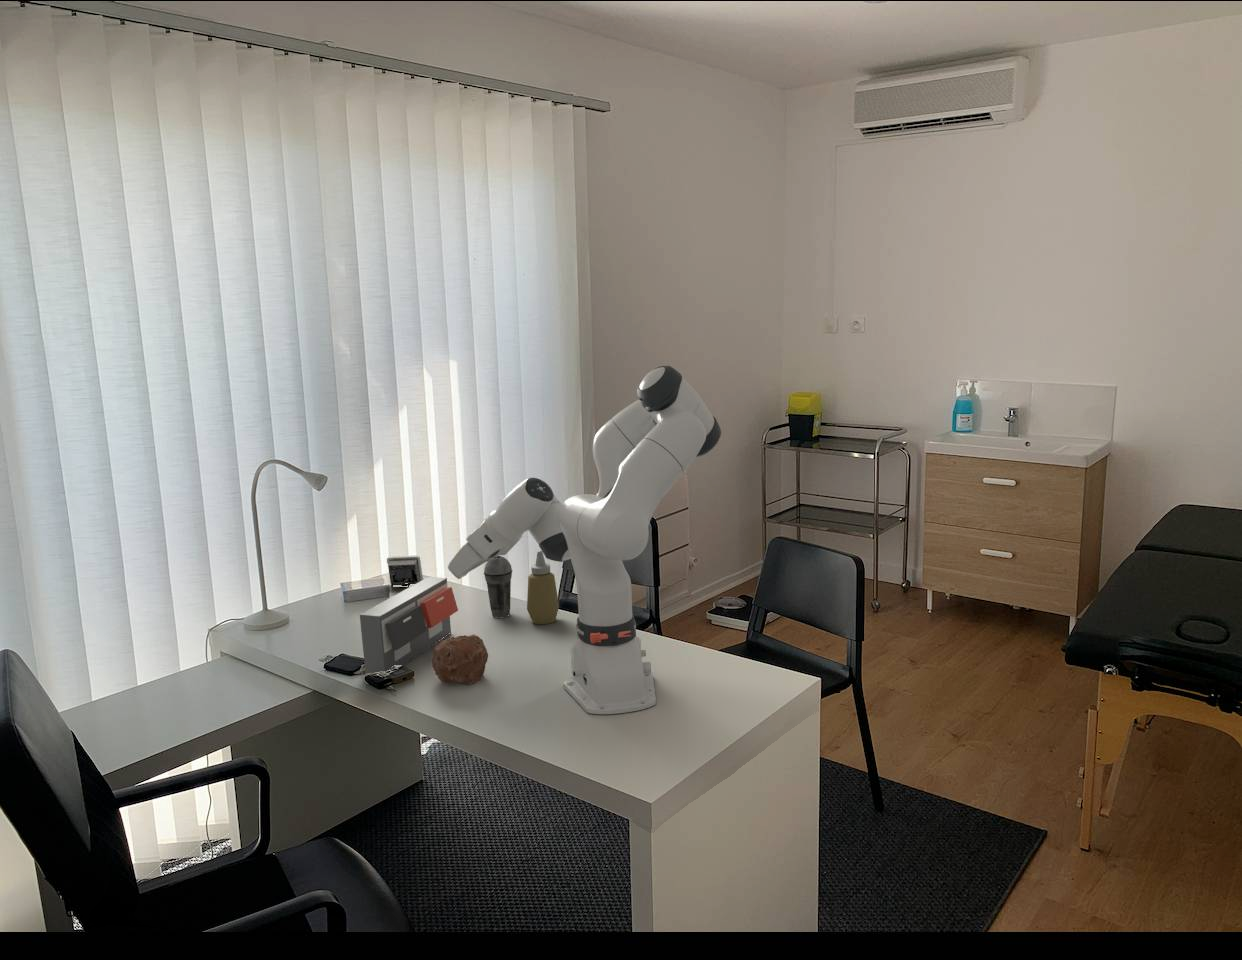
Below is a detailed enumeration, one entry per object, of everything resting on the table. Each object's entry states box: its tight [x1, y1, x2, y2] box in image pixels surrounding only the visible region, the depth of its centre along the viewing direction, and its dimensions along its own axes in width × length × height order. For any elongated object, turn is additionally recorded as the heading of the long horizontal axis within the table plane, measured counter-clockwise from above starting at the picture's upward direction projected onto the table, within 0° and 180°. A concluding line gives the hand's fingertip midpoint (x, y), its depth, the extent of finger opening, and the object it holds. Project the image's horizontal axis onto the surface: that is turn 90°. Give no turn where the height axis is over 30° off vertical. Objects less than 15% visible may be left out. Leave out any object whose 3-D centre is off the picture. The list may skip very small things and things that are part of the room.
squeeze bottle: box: [526, 550, 560, 625], centre depth 230 cm, size 8×8×18 cm
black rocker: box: [386, 606, 427, 650], centre depth 204 cm, size 1×12×6 cm, turn 160°
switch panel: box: [359, 576, 452, 674], centre depth 212 cm, size 5×28×14 cm, turn 160°
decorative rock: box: [430, 634, 489, 685], centre depth 197 cm, size 13×11×10 cm
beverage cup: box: [483, 555, 513, 619], centre depth 236 cm, size 7×7×20 cm
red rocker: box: [420, 586, 459, 628], centre depth 217 cm, size 1×12×6 cm, turn 160°
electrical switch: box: [386, 554, 424, 588], centre depth 264 cm, size 9×5×9 cm, turn 92°
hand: (459, 575), depth 211 cm, fingers closed
